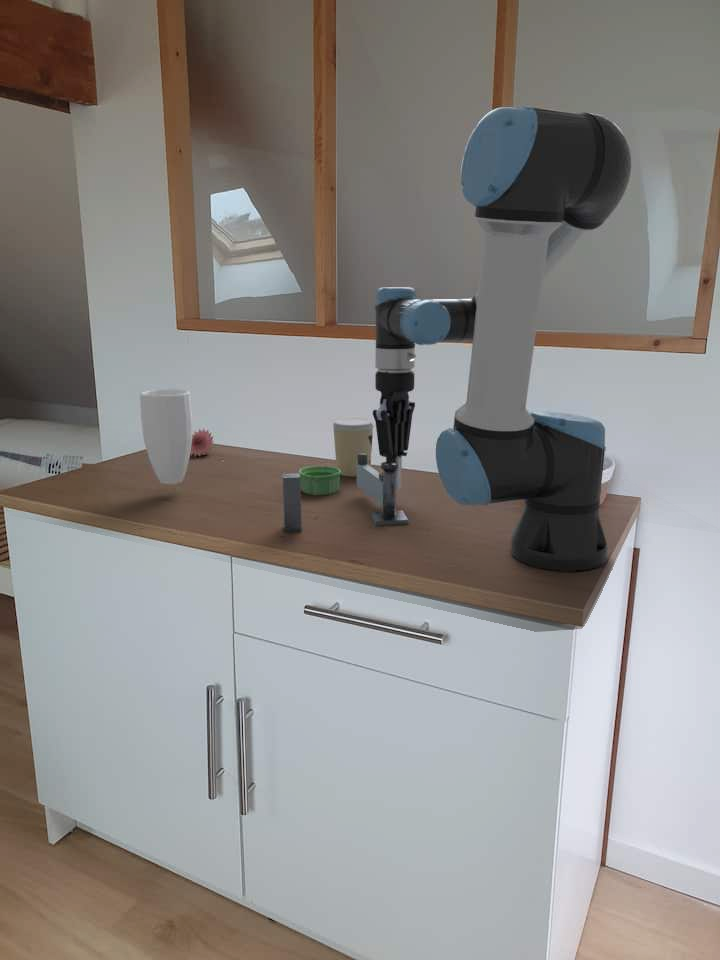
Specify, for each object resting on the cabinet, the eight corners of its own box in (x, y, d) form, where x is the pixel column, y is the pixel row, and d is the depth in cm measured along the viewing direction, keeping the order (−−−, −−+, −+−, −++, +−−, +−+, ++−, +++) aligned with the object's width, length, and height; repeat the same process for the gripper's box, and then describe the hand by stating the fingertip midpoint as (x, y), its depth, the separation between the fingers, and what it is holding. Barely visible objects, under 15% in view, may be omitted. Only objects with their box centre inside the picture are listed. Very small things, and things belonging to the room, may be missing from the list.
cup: (159, 505, 148) (151, 397, 142) (138, 493, 156) (129, 391, 150) (206, 495, 154) (200, 392, 149) (183, 485, 162) (177, 387, 157)
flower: (207, 428, 194) (196, 419, 189) (226, 444, 190) (215, 435, 186) (187, 451, 194) (176, 443, 189) (206, 468, 190) (195, 460, 185)
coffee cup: (379, 475, 170) (380, 423, 167) (341, 479, 167) (341, 426, 164) (364, 465, 179) (364, 416, 176) (327, 469, 175) (327, 419, 172)
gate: (391, 506, 140) (391, 470, 138) (381, 507, 139) (381, 471, 138) (364, 485, 155) (364, 452, 153) (355, 485, 154) (355, 453, 152)
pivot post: (408, 523, 136) (409, 467, 134) (376, 525, 136) (376, 468, 133) (401, 514, 142) (402, 459, 139) (371, 515, 141) (371, 460, 138)
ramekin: (290, 490, 158) (289, 470, 157) (321, 482, 165) (321, 463, 163) (318, 499, 152) (318, 478, 151) (349, 490, 159) (349, 470, 157)
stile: (301, 531, 133) (300, 477, 130) (284, 532, 132) (283, 477, 130) (300, 525, 136) (299, 472, 133) (283, 526, 135) (282, 473, 133)
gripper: (395, 375, 135) (393, 499, 141) (427, 367, 146) (425, 483, 152) (360, 372, 139) (360, 493, 145) (394, 365, 150) (393, 478, 156)
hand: (393, 487), depth 149 cm, fingers closed
